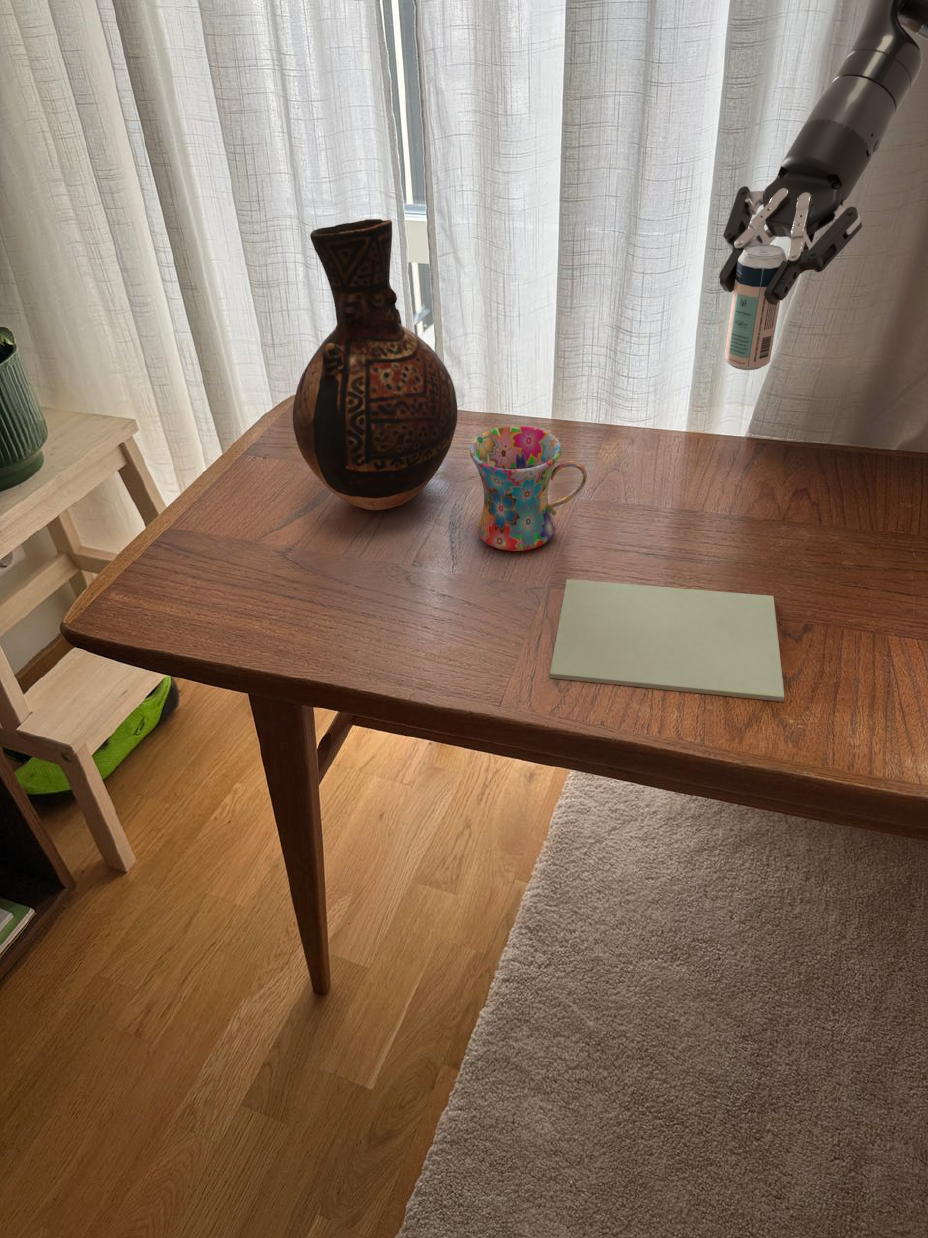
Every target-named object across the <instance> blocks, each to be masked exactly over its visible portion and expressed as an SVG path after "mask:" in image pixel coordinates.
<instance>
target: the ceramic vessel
mask: <svg viewBox="0 0 928 1238" xmlns="http://www.w3.org/2000/svg"><path fill="white" fill-rule="evenodd" d="M309 238H310V241H311V244H312V246H313V249H314V251H315V252H316V254H317V257H318V259H319V261H320V263H321V265H322V268H323V270H324V274H325V276H326V278H327V281H328V284H329V288H330V292H331V295H332V298H333V304H334V310H335V318H336V325H335V328H334V329H333V330H332V331H331V332H330V333H329V335H328V336H326V338H325V339H324V340H323V342H322V343H321V344H320V345H319V347H318V349H317V350H316V351H315V352H314V354H313V356H312V357H311V358H310V360H309V362H308V363H307V365H306V367H305V369H304V370H303V372H302V374H301V377H300V380H299V382H298V384H297V387H296V391H295V395H294V398H293V399H294V400H293V407H292V427H293V432H294V437H295V441H296V443H297V444H296V445H297V447H298V450H299V451H300V453H301V456H302V457H303V459H304V461H305V462H306V464H307V465H308V467H309V469H310V470H311V472H312V473H313V474H314V475H315V476H316V477H317V478H318V479H319V481H321V483H322V484H323V485H324V486H325V487H326V488H327V490H329V491H330V492H332V494H334V495H336V497H338V498H340V499H341V500H343V501H345V502H347V503H348V504H350V505H352V506H354V507H357V508H361V509H364V510H367V511H382V510H389V509H392V508H395V507H398V506H402V505H404V504H405V503H407V502H409V501H410V500H412V499H413V498H415V497H416V496H417V495H418V494H420V492H421V491H422V490H423V489H424V488H425V487H426V486H427V485H428V483H429V482H430V481H431V480H432V479H433V477H434V476H435V474H436V473H437V472H438V470H439V469H440V467H441V466H442V465H443V463H444V460H445V458H446V456H447V454H448V452H449V450H450V449H451V446H452V442H453V439H454V436H455V432H456V428H457V424H458V400H457V393H456V392H457V391H456V389H455V385H454V382H453V379H452V377H451V374H450V372H449V371H448V369H447V366H446V364H444V363H443V361H442V360H441V358H440V356H439V355H438V353H437V352H436V351H434V349H433V348H432V347H431V345H429V344H428V343H427V342H426V341H425V340H423V339H422V338H421V337H420V336H418V335H417V334H416V333H414V332H413V331H411V330H410V329H409V328H407V327H406V326H404V325H403V323H402V318H401V313H400V311H399V309H398V308H397V306H396V303H397V301H398V296H397V293H396V292H395V291H394V289H393V288H392V285H391V281H390V277H391V275H390V274H391V259H392V256H391V255H392V244H393V221H392V220H391V219H386V220H383V219H381V218H368V219H364V220H358V221H353V222H345V223H340V224H336V225H334V226H327V227H319V228H317V229H313V230H312V231H311V233H310V234H309Z"/></svg>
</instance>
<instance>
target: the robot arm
mask: <svg viewBox="0 0 928 1238" xmlns="http://www.w3.org/2000/svg"><path fill="white" fill-rule="evenodd" d="M863 16H864V17H863V19H862V23H861V26H860V28H859V31H858V34H857V36H856V39H855V40H854V43H853V45H852V47H851V49H850V50H849V53H848V54H847V56H846V58H845V59H844V61H843V63H842V65H841V66H840V68H839V70H838V71H837V73H836V75H835V76H834V78H833V80H832V82H831V83H830V85H829V86H828V88H827V89H826V90H825V92H824V93H823V94H822V95H821V97H820V98H819V99H818V101H817V103H816V104H815V105H814V107H813V109H812V111H811V113H810V114H809V116H808V117H807V119H806V121H805V122H804V124H803V126H802V128H801V130H800V131H799V132H798V133H797V136H796V138H795V140H794V141H793V143H792V145H791V147H790V148H789V149H788V151H787V153H786V155H785V157H784V158H783V159H782V162H781V164H780V167H779V170H778V174H777V176H776V177H775V179H774V180H773V181H772V182H771V183H770V184H769V185H767V186H766V187H765V188H764V190H756V191H755V190H754V191H751V190H750V188H749V187H748V186H747V185H745V186H742V187H740V188H739V189H738V190H737V192H736V196H735V199H734V202H733V205H732V208H731V211H730V213H729V217H728V220H727V223H726V226H725V229H724V232H723V234H722V236H723V238H724V240H725V242H726V243H727V245H728V247H729V249H730V250H731V253H730V255H729V257H728V258H727V260H726V262H725V264H724V265H723V266H722V268H721V270H720V272H719V276H718V278H719V285H720V286H721V288H722V289H723V291H724V292H727V293H733V292H734V285H735V278H736V270H737V263H738V258H739V257H740V255H741V254H742V252H743V251H744V249H745V248H746V247H747V246H751V245H756V244H771V243H773V242H774V240H775V239H777V237H778V238H789V239H790V245H789V248H788V253H787V262H786V261H782V263H781V265H780V266H779V268H778V270H777V271H776V273H775V275H774V276H773V278H772V280H771V281H770V283H769V285H768V287H767V288H766V290H765V292H764V296H765V298H766V300H767V302H768V303H769V304H773V305H776V304H777V303H778V302H779V300H780V302H782V301H784V299H786V298H787V297H788V295H789V292H790V291H791V290H792V288H793V286H794V285H795V283H796V281H797V280H798V278H799V276H801V274H803V273H805V272H806V271H812V270H813V271H814V272H815V273H820V272H823V271H824V270H825V269H826V268H827V267H828V266H829V264H830V263H831V262H833V260H834V259H835V258H836V257H837V256H838V255H839V254H840V252H842V250H843V249H844V248H845V247H846V246H847V245H848V244H849V242H851V240H852V239H853V238H854V237H855V236H856V235H857V234H858V233H859V231H860V230H861V229H862V228H863V222H862V220H861V216H860V214H859V212H858V210H857V208H856V207H855V206H849V207H845V206H844V202H845V201H846V200H847V199H848V198H849V196H850V195H851V193H852V192H853V189H854V188H855V187H856V185H857V183H858V182H859V180H860V178H861V176H862V175H863V173H864V171H865V169H866V168H867V166H868V165H869V163H870V161H871V159H872V157H873V156H874V155H875V153H876V152H877V151H878V149H879V147H880V145H881V143H882V142H883V139H884V138H885V136H886V133H887V131H888V129H889V127H890V124H891V123H892V120H893V118H894V116H895V114H896V113H897V111H898V110H899V108H900V106H901V104H902V103H903V102H904V100H905V98H906V96H907V95H908V93H909V92H910V90H911V88H912V87H913V85H914V83H915V81H916V79H917V78H918V76H919V74H920V71H921V70H922V66H923V53H922V51H921V48H920V46H919V45H918V43H917V42H916V41H915V39H914V38H913V37H912V36H911V35H910V34H909V33H908V32H907V31H906V30H908V31H909V32H912V33H914V34H915V35H917V36H918V37H920V38H922V39H924V40H926V41H928V0H868V1H867V4H866V9H865V12H864V15H863ZM761 206H762V209H761V210H760V211H759V208H760V207H761ZM758 211H759V212H758ZM753 216H754V217H753ZM828 224H831V225H830V227H828V229H827V230H826V231H825V232H824V233H823V234H822V235H821V236H820V237H819V239H818V240H816V238H817V233H818V232H819V230H821V229H823V228H824V227H826V226H827V225H828ZM765 226H766V228H767V229H765Z"/></svg>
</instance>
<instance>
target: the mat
mask: <svg viewBox="0 0 928 1238" xmlns="http://www.w3.org/2000/svg"><path fill="white" fill-rule="evenodd" d="M562 597H563V598H562V603H561V609H560V615H559V619H558V625H557V630H556V636H555V642H554V648H553V652H552V659H551V664H550V669H549V678H550V679H558V680H567V681H576V682H577V681H578V682H585V683H587V682H588V683H596V684H606V685H617V686H625V687H635V688H645V689H654V690H655V689H656V690H664V691H673V692H674V691H675V692H682V693H683V692H684V693H693V694H702V695H714V696H722V697H731V698H732V697H733V698H741V699H742V698H743V699H750V700H751V699H752V700H761V701H772V702H779V703H780V702H781V703H783V702H784V701H785V697H786V696H785V688H784V678H783V669H782V661H781V659H782V658H781V652H780V643H779V634H778V623H777V616H776V605H775V597H774V595H766V594H765V595H764V594H754V593H741V592H730V591H729V592H727V591H717V590H705V589H695V588H694V589H693V588H679V587H667V586H656V585H645V584H644V585H643V584H633V583H619V582H608V581H595V580H584V579H572V578H571V579H570V578H566V581H565V586H564V592H563V596H562Z"/></svg>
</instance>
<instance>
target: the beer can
mask: <svg viewBox="0 0 928 1238" xmlns="http://www.w3.org/2000/svg"><path fill="white" fill-rule="evenodd" d="M787 260H788V257H787V256H786V253H785V249H784V248H782V247H781V246H779V245H775V244H771V243H770V244H756V245H751V246H747V247H746V248H745V249H744V251H743V252H742V254H741V255H740V257H739V258H738V263H737V270H736V278H735V285H734V290H733V291H732V300H731V307H730V308H731V309H730V315H729V322H728V331H727V336H726V345H725V350H724V351H725V352H724V361H725V362H726V363H727V364H728V365H730V366H731V367H732V368H735V369H737V370H741V371H756V370H759V369H761V368H763V367H766V366H767V365H769V363H770V362H771V357H772V353H773V352H772V351H773V345H774V339H775V334H776V328H777V322H778V316H779V310H780V305H781V300H779V302H778V303H777V304H776V305H773V304H769V303H768V302H767V300H766V298H765V296H764V292H765V290H766V288H767V287H768V285H769V283H770V281H771V280H772V278H773V276H774V275H775V273H776V271H777V270H778V268H779V266H780V265H781V263H782V261H786V262H787Z"/></svg>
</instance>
